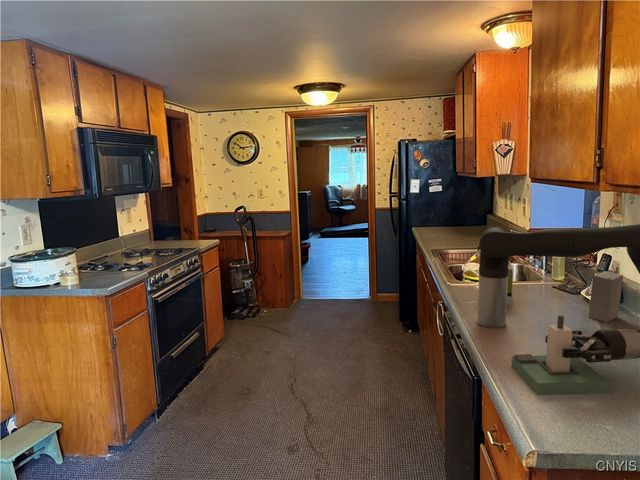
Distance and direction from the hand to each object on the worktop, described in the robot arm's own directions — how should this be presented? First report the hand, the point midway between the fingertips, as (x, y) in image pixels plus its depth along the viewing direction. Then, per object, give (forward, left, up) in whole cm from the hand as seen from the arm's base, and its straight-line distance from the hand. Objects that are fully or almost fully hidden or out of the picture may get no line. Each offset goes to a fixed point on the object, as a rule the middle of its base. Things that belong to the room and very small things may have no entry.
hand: (554, 346), depth 114 cm
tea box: (-66, +11, -9) cm, 68 cm away
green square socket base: (0, +1, -9) cm, 9 cm away
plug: (0, +1, -9) cm, 9 cm away
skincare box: (-42, +39, -9) cm, 58 cm away
